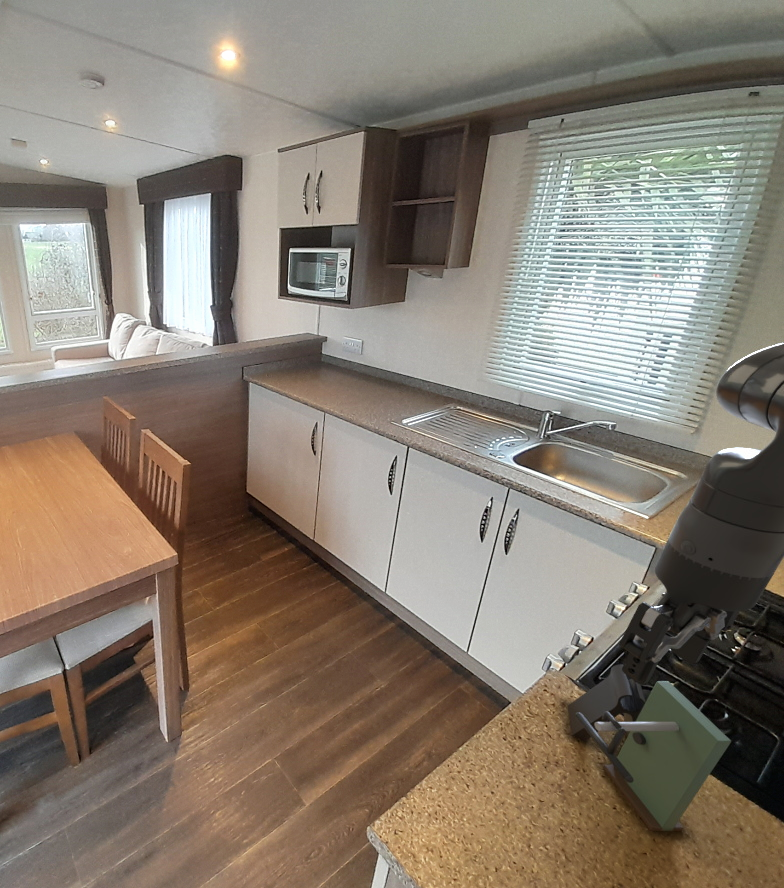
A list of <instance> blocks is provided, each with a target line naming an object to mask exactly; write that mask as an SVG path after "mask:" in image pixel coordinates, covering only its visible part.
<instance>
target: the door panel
mask: <svg viewBox="0 0 784 888" xmlns="http://www.w3.org/2000/svg"><path fill="white" fill-rule="evenodd" d="M645 701H646V703H645V705H644V707H643V709H642V711H641V712H640V714H639V716H638V718H637V720H636V722H624V721H617V722H618V723H619V724H620V725H621V727H622V728H623V729H625V731H630V733H629V735H628V737H627V739H626V738H625V741H624V742H623V744H622V746H621V748H620V751H619V752H618V755H616V757H617V758H618V759H619V761H620V762H621V763H622V765H623V766H624V767H625V768H626V770H627V771H628V772H629V773H630V775H631V776H632V777H633V780H634V781H633V782H632V783H628V782H627V781H625V780H624V778H623V777H622V776H621V774H620V773H619V772H618V771H617V769H616V768H615V767H614V765H613V764H603V766H602V769H603V770H604V771H605V773H606V774H607V775H608V776H609V778H610V779H611V780H612V782H613V783H614V784H615V786H616V787H617V788H618V790H619V792H621V793H622V795H623V797H624V798H625V799H626V800H627V802H629V804H630V805H631V807H632V808H633V809H634V811H635V812H636V814H637V815H638V816H639V818H640V819H641V820H642V821H643V822H644V824H645V825H646V826H647V828H648V829H649V830H650V831H651V832H665V831H666V832H682V831H683V830H684V826H683V825H682V823H680V820H681V818H682V817H683V815H684V814H685V812H686V811H687V809H688V808H689V807H690V805H691V803H692V801H693V800H694V798H695V797H696V795H697V794H698V792H699V791H700V790H701V788H702V786H703V785H704V783H705V781H707V779H708V777H709V776H710V775H711V773H712V771H713V770H714V768H715V767H716V766H717V764H718V762H719V761H720V759H721V758H722V757H723V755H724V753H725V752H726V751H727V749H728V747H729V746H730V744H731V743H732V740H731V739H730V737H728V736H727V735H725V733H724V732H723V731H722V730H720V728H718V727H717V726H716V725H715V724H714V723H713V722H712V721H711V720H710V719H709V718H708V717H707V716H706V715H705V714H704V713H703V712H701V710H699V709H698V708H697V707H696V706H695V705H694V704H693V703H692V702H691V701H690V700H689V699H688V698H687V697H686V696H684V694H683V693H681V692H680V690H679V689H677V688H676V687H675V686H674V685H673V684H672V683H671V682H670V681H669V680H658V681H655V684H654V686H653V688H652V690H651V691H650V693H649V695H648V697H647V699H646V700H645ZM595 728H596V729H597V730H598V732H617V729H616V727H615V726H614V725H613V724H612V723H611V721H610V722H595Z"/></svg>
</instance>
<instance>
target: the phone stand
mask: <svg viewBox="0 0 784 888" xmlns="http://www.w3.org/2000/svg"><path fill="white" fill-rule="evenodd" d="M623 665H624V664H615V665H614V666H612V667H611V669H610V672H609V675H608V676H607V677H606V678H604V679H603V680H601V681H600V682H598V684H596V685H595V686H593V687H591V688H590V689H589V690H587V691H586V692H584V693H583V694H582V695H580V696H579V697H577V698H576V699H575V700H573V701H572V702H570V703H569V704H567V711H568V718H569V719H568V720H569V728H570V734H571V737H573V738H575V739H578V740H581V741H584V742H588V741H589V740H590V739H591V738H592V737H591V736H590V734H589V733H588V732H587V731H586V729H585V728H584V727H583V725H582V724H581V723H580V722H579V720H578V719H577V718H576V716H575V714H576V713H577V712H580V713H582V714H583V715H584V717H585V718H586V719H587V720H588V722H589V723H590V724H591V725H592V727H593V728H594V729H595V731H596V732H597V733H599V731H598V730H597V729H596V728H595V722H604V721H603V720H602V716H603V714H604V712H605V711H608V712H609V713H610V714H611V715H612V716H613V717H614V718H615V719H616V717H617V716H619V715H621V714H623V722H636V720H637V718H638V716H639V714H640V712H641V711H642V709H643V707H644V705H645V703H646V701H647V700H646V697H645V694H644V691H643V687H642V685H640V684H638V683H637V682H635V681H634V680H633V679H631V678H629V679H628V676H627V675H626V674H624V673H623V671H622V667H623ZM607 722H611V721H610V720H608V721H607ZM629 733H630V731H626V733H625V735H624V736H625V740H626V739H627V737H628V735H629Z"/></svg>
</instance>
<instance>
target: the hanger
mask: <svg viewBox="0 0 784 888" xmlns="http://www.w3.org/2000/svg"><path fill="white" fill-rule="evenodd" d="M575 716H576V718H577V719H578V720H579V722H580V723H581V724H582V725H583V727H584V728H585V729H586V731H587V732H588V733H589V734H590V736H591V738H592V740H593V741H594V743H595V744H596V745H597V746H598V748H599V749H600V750H601V752H602V753H603V754H604V755H605V757H606V758H607V759H608V760H609V762H610V763H611V765H614V767H615V768H616V769H617V771H618V772H619V773H620V774H621V776H622V777H623V778H624V780H625V781H627V782H628V783H632V782H633V781H634V780H633V777H632V776H631V775H630V773H629V772H628V771H627V770H626V768H625V767H624V766H623V765H622V763H621V762H620V761H619V759H618V758H617V755H616V754H615V753H616V751H617V749H618V747H619V746H620V744H621V742H622V740H623V738H624V737H625V736H626V735H625V733H626V731H625V729H623V728H622V727H621V725H620V724H619V723H618V722H619V721H618V720H617V719H616V717H615V718H614V717H613V716H612V715H611V714H610V713H609V712H608V711H605V712H604V714H603V716H602V720H603V721H604V722H607V721H608V720H610V722H611V723H612V724H613V725H614V726H615V727H616V729H617V731H615V733H614V735H613V737H612V739H611V741H610V743H609V745H608V744H607V743H606V742H605V740H604V739H603V737H601V735H600V734H599V732H596V731H595V729H594V728H593V727H592V725H591V724H590V723H589V722H588V720H587V719H586V718H585V717H584V715H583V714H582V713H580V712H577V713H576V714H575Z"/></svg>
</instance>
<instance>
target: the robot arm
mask: <svg viewBox="0 0 784 888" xmlns="http://www.w3.org/2000/svg"><path fill="white" fill-rule="evenodd" d="M715 390H716V391H715V394H716V395H715V396H716V400H717V402H718V403H719V405H720V406H721V408H723V410H724V411H726V412H727V413H728V414H730V415H731V416H733V417H735V418H737V419H740V420H742V421H744V422H747V423H750V424H752V425H755V426H757V427H761V428H763V429H765V430H769V431H771V432H773V433H775V435H774V437H773V439H772V440H771V441H770V442H769V443H768V444H767V445H766V447H764V448H763V449H758V448H750V447H732V448H731V447H730V448H725V449H721V450H719V451H717V452H716V453H714V454H713V455H712V457H711V458H710V459H709V460H708V462H707V463H706V466H705V467H704V469H703V471H702V474H701V475H700V478H699V480H698V482H697V483H696V486H695V489H694V490H693V493H692V495H691V496H690V499H689V500H688V502H687V503H686V506H685V507H684V508H683V509H682V511H681V512H680V513H679V515H678V517H677V519H676V521H675V523H674V525H673V527H672V529H671V531H670V533H669V536H668V538H667V540H666V542H665V544H664V546H663V549H662V551H661V553H660V555H659V557H658V559H657V561H656V563H655V566H654V574H655V576H656V578H657V579H658V580H659V582H660V583H661V584H662V585H663V587H664V588H665V590H666V592H663V593H661V594H660V595H659V596H658V597H657V598H656V599H655V601H654V606H652V605H651V604H649V603H647V602H645V601H643V602H641V603H640V604H638V606H637V608H636V610H635V612H634V613H633V615H632V617H631V619H630V621H629V624H628V625H627V627H626V629H625V631H624V633H623V635H622V637H621V639H620V640H619V643H618V645H619V646H620V647H621V648H622V649H624V650H625V651H627V652H628V653H627V656H626V659H625V661H624V663H623V664H622V665H623V667H622V671H623V673H624V674H626V676H627V678H629V679H633V680H634V681H635V682H637V683H638V684H640V685H641V686H642V685H645V684H648V683H649V681H650V680H651V678H652V676H653V674H654V672H655V670H656V668H657V667H658V664H659V662H660V661H661V660H662V658H663V657H664V656H665V655H666V654H667V653H668V652H669V651H670V650H671V652H672V653H673V654H674V655H676V656H677V657H679V658H680V659H682V660H683V661H685V662H686V663H688V664H690V665H695V664H697V663H698V662H700V660H701V659H702V656H703V655H704V653H705V652H706V649H707V648H708V646H709V644H710V642H711V641H714V640H715V639H718V638H719V636H720V633H721V631H723V632H728V631H731V629H732V626H733V625H734V622H735V621H736V619H737V617H738V615H739V613H740V612H745V611H748V610H751V609H753V608H754V607H755V606H756V605H757V604H758V602H759V600H760V598H761V596H762V595H763V593H764V591H765V590H766V588H767V586H768V584H769V583H770V581H771V579H772V578H773V576H774V574H775V572H776V571H777V570H778V568H779V566H780V564H781V563H782V561H783V559H784V342H782V343H777V344H775V345H772V346H767V347H765V348H762V349H760V350H757V351H755V352H752V353H750V354H748V355H747V356H745V357H743V358H741V359H739V360H738V361H736V362H735V363H734V364H732V365H731V366H730V367H729V368H728V369H727V370H726V371H725V372H724V373H723V374H722V376H721V377H720V379H718V382H717V385H716V389H715ZM668 631H670V633H673V634H674V635H675V636H670V635H668V634H667V632H668Z"/></svg>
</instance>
